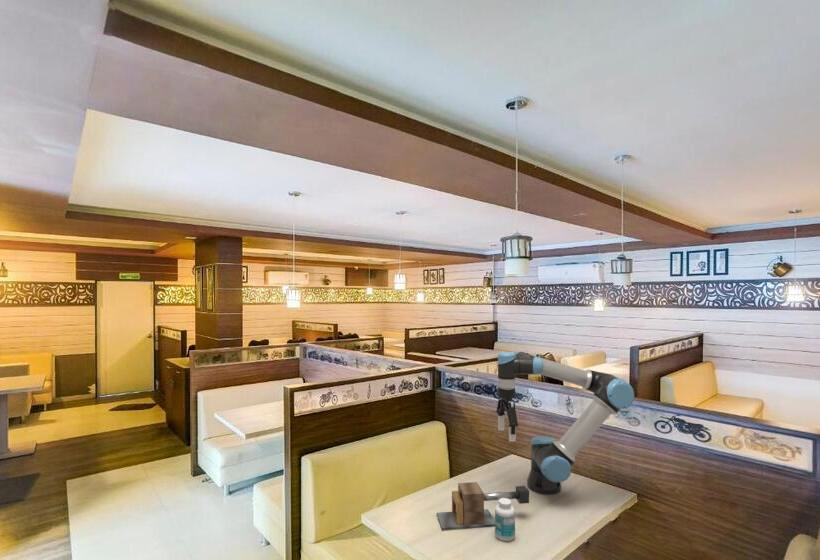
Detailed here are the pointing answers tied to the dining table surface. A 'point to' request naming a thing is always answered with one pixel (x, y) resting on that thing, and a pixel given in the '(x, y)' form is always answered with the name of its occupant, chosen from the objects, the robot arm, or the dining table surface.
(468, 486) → the bearing block
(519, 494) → the shaft
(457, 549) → the dining table surface
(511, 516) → the pill bottle
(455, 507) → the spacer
